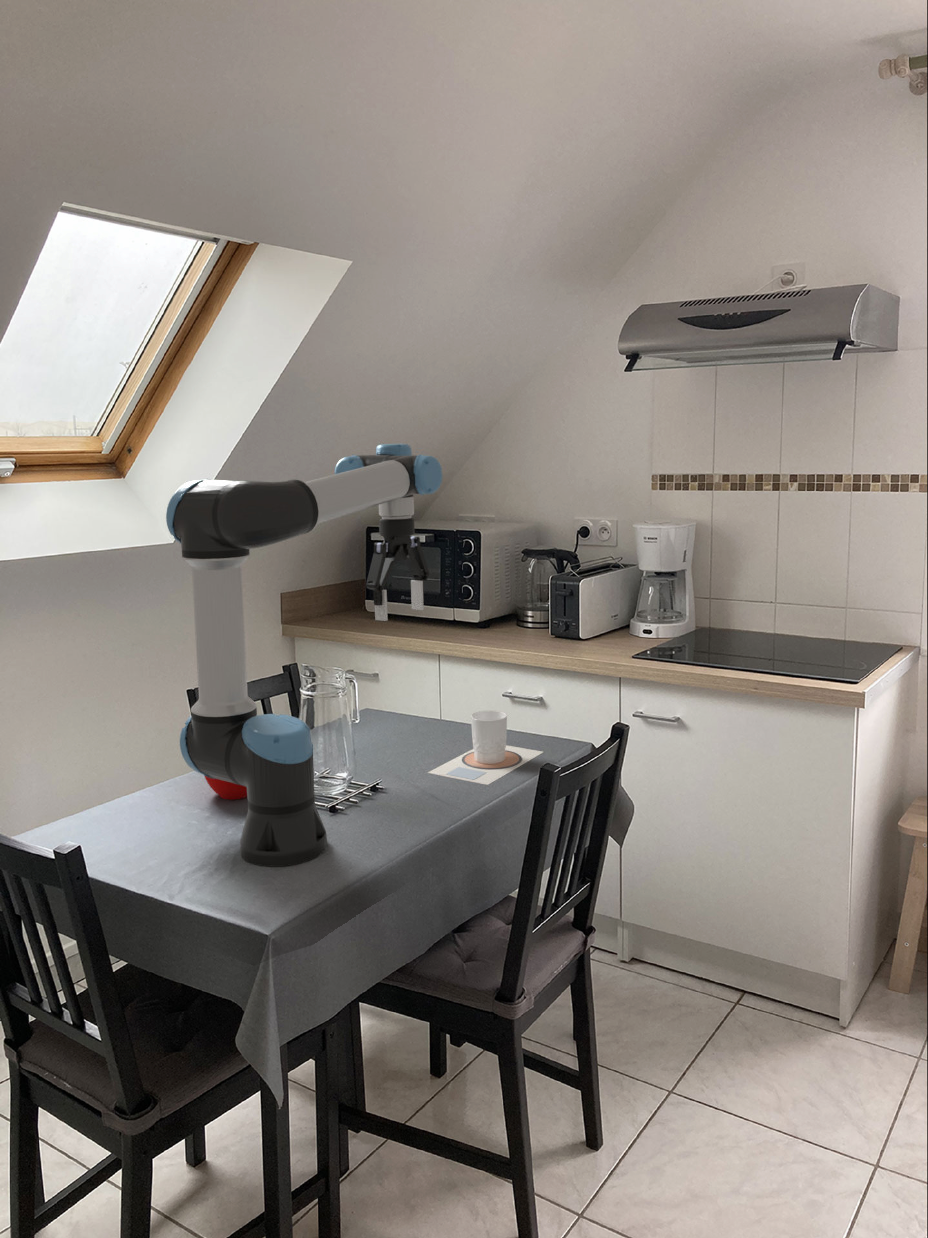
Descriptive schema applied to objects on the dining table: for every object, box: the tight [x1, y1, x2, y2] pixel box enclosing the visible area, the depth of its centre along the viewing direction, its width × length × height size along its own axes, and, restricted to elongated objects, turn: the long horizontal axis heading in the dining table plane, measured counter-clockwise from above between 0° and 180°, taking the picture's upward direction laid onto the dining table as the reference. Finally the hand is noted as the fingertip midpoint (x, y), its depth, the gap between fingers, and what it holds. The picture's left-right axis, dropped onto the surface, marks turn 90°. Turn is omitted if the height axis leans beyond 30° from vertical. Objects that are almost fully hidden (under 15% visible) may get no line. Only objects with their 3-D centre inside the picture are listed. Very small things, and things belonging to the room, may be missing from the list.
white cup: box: [470, 710, 508, 764], centre depth 222 cm, size 8×8×10 cm
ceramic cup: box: [204, 776, 247, 800], centre depth 208 cm, size 13×17×10 cm
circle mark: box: [462, 750, 522, 770], centre depth 223 cm, size 13×13×1 cm
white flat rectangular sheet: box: [427, 744, 544, 786], centre depth 221 cm, size 24×15×1 cm, turn 147°
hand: (399, 614), depth 221 cm, fingers open, 13 cm apart
